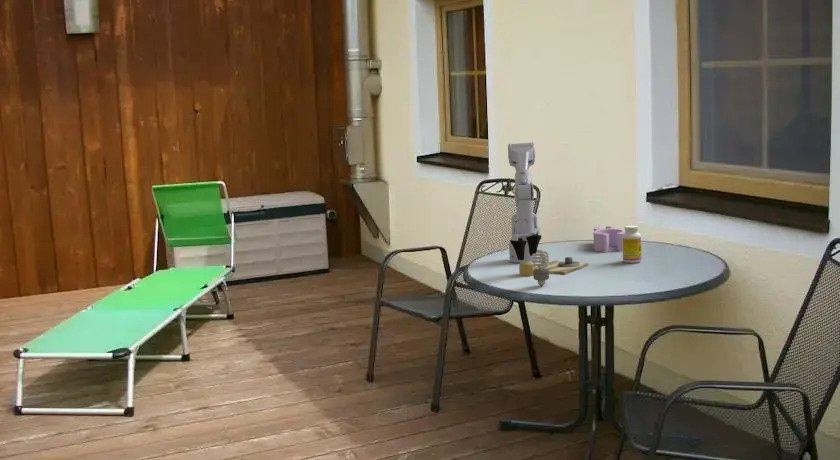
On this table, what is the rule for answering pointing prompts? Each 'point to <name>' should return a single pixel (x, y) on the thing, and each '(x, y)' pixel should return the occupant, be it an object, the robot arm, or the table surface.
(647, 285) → the table surface
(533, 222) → the robot arm
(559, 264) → the stud plate
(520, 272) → the cap
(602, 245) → the clip
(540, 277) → the light bulb
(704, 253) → the table surface
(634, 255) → the supplement bottle
